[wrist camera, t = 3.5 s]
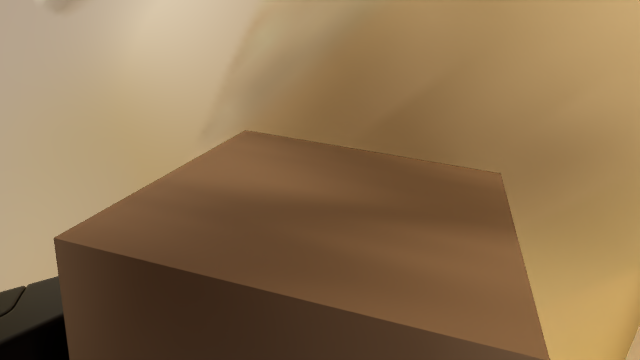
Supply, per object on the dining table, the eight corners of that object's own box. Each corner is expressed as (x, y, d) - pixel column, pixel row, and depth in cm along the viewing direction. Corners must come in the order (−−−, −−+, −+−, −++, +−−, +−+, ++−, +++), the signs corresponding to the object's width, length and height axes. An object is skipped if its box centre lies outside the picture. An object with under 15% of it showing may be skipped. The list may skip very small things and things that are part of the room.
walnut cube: (500, 173, 8) (550, 360, 4) (447, 385, 10) (440, 681, 6) (245, 130, 10) (53, 237, 5) (238, 328, 11) (93, 539, 7)
